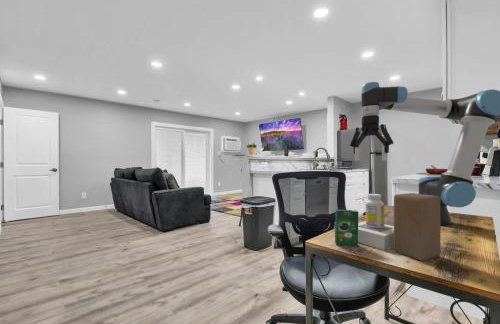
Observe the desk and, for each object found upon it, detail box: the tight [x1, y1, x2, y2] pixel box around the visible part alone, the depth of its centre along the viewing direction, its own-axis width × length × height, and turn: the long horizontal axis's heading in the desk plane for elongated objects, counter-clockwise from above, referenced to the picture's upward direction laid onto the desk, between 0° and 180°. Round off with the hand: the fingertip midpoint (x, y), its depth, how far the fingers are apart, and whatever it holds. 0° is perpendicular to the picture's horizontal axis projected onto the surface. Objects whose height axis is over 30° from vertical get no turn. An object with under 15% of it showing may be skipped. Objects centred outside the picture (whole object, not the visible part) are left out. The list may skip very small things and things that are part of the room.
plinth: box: [358, 220, 394, 251], centre depth 97 cm, size 16×16×5 cm
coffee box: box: [334, 209, 360, 247], centre depth 92 cm, size 8×3×13 cm, turn 82°
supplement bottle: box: [365, 193, 385, 228], centre depth 97 cm, size 7×7×13 cm
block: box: [393, 192, 441, 262], centre depth 82 cm, size 10×10×20 cm
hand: (370, 160), depth 116 cm, fingers open, 13 cm apart
